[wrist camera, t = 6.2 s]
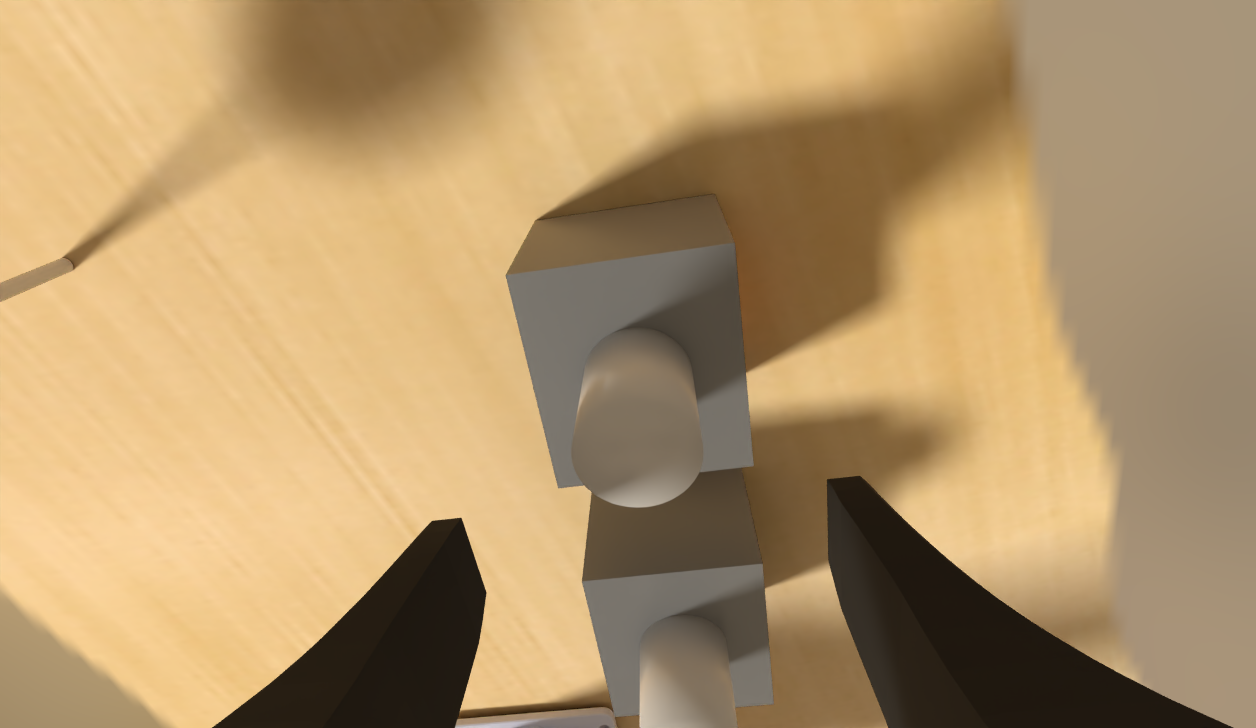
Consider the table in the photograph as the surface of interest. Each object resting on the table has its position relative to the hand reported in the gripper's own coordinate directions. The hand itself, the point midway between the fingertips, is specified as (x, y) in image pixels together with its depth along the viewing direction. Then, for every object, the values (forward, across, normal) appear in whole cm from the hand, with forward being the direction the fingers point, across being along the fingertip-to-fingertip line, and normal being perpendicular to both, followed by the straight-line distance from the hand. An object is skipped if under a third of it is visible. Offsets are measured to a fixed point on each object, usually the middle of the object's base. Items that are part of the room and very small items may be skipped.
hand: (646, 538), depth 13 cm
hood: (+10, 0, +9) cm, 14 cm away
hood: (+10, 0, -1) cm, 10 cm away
